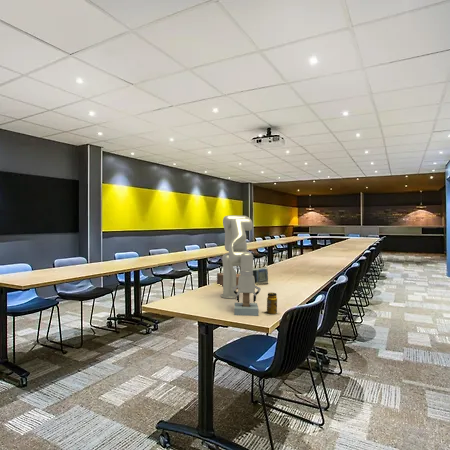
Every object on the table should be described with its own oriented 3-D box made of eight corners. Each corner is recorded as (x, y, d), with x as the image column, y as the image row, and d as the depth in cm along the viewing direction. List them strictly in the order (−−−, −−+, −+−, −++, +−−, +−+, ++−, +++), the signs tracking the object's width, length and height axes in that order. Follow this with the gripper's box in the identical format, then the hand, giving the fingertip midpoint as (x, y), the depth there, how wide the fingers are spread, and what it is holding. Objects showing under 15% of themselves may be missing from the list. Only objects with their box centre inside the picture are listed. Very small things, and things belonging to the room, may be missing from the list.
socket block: (234, 308, 211) (234, 302, 211) (257, 309, 210) (257, 303, 210) (234, 315, 197) (234, 308, 197) (258, 315, 196) (258, 308, 196)
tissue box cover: (216, 284, 293) (217, 273, 293) (231, 283, 300) (231, 272, 300) (231, 290, 270) (231, 277, 270) (246, 288, 277) (247, 276, 277)
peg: (242, 311, 206) (242, 291, 206) (249, 311, 205) (249, 291, 205) (242, 313, 202) (242, 293, 202) (249, 313, 201) (249, 293, 201)
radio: (242, 285, 290) (243, 268, 290) (241, 283, 299) (241, 266, 299) (269, 285, 294) (269, 268, 293) (266, 283, 302) (266, 266, 302)
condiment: (279, 314, 201) (280, 294, 201) (267, 315, 197) (267, 295, 197) (273, 311, 207) (273, 291, 207) (261, 312, 204) (261, 292, 204)
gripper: (232, 274, 200) (231, 303, 200) (261, 274, 199) (261, 303, 199) (232, 272, 207) (231, 300, 208) (260, 272, 207) (260, 300, 207)
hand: (246, 301), depth 203 cm, fingers open, 9 cm apart
